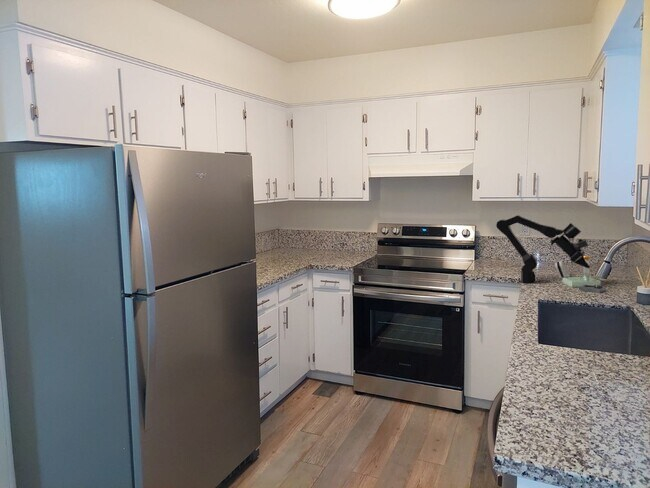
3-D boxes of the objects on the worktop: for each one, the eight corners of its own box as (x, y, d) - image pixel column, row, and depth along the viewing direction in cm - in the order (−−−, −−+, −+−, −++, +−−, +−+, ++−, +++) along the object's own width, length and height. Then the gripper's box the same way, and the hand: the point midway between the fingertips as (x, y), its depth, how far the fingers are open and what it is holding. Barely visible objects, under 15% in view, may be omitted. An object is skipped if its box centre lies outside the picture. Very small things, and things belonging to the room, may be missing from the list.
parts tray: (572, 287, 238) (572, 281, 237) (562, 283, 250) (562, 277, 249) (600, 286, 236) (600, 281, 236) (589, 282, 248) (589, 277, 248)
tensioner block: (579, 290, 230) (579, 284, 230) (585, 288, 234) (585, 282, 234) (599, 292, 222) (599, 286, 222) (605, 290, 227) (605, 284, 226)
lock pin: (586, 285, 239) (586, 256, 238) (579, 283, 243) (580, 255, 241) (592, 284, 240) (592, 256, 239) (585, 283, 244) (586, 255, 243)
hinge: (569, 278, 261) (562, 262, 262) (560, 281, 263) (554, 264, 264) (570, 274, 276) (563, 258, 276) (561, 276, 278) (555, 260, 279)
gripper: (578, 236, 233) (603, 258, 229) (578, 233, 249) (601, 253, 245) (560, 251, 237) (584, 273, 233) (561, 247, 254) (584, 267, 250)
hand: (589, 266), depth 240 cm, fingers open, 9 cm apart
